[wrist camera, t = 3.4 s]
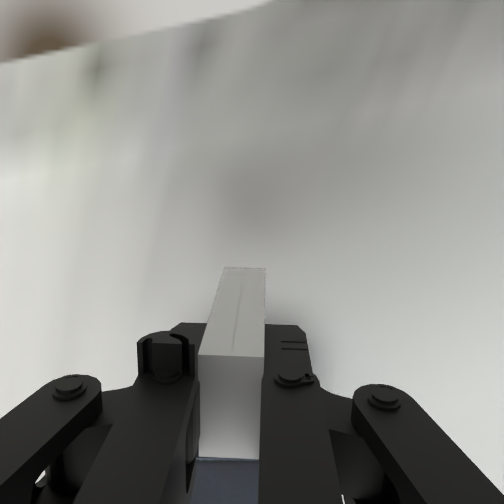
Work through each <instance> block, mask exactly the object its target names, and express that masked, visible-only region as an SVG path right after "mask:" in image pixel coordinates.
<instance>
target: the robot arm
mask: <svg viewBox="0 0 504 504" xmlns="http://www.w3.org/2000/svg"><path fill="white" fill-rule="evenodd" d="M137 357H138V377H137V378H136V380H135V382H134V384H133V386H130V387H127V388H122V389H117V390H111V391H104V392H102V391H101V382H100V381H99V380H98V379H97V378H94V377H92V376H89V375H79V374H74V375H67V376H63V377H61V378H58V379H55V380H53V381H51V382H49V383H47V384H46V385H44V386H43V387H41V388H40V389H39V390H37V391H36V392H35V393H33V394H32V395H31V396H29V397H28V398H27V399H26V400H24V401H23V402H22V403H20V404H19V405H18V406H16V407H15V408H14V409H12V410H11V411H10V412H8V413H7V414H6V415H5V416H3V417H2V418H1V419H0V504H190V501H191V496H192V491H193V486H194V481H195V476H196V452H197V447H198V443H199V457H219V458H243V459H259V477H258V504H343V501H342V496H341V494H342V495H344V501H345V504H504V495H503V494H502V493H501V492H500V491H499V490H498V489H497V488H496V486H495V485H494V484H493V483H492V482H491V481H490V480H489V479H488V478H487V477H486V476H485V475H484V474H483V473H482V472H481V470H480V469H479V468H478V467H477V466H476V465H475V464H474V463H473V462H472V461H471V460H470V459H469V458H468V457H467V456H466V454H465V453H464V452H463V451H462V450H461V449H460V448H459V447H458V446H457V445H456V444H455V443H454V442H453V441H452V440H451V438H450V437H449V436H448V435H447V434H446V433H445V432H444V431H443V430H442V429H441V428H440V427H439V426H438V425H437V424H436V422H435V421H434V420H433V419H432V418H431V417H430V416H429V415H428V414H427V413H426V412H425V411H424V410H423V409H422V408H421V407H420V405H419V404H418V403H417V402H416V401H415V400H414V399H413V398H412V397H411V396H409V395H408V394H407V393H405V392H404V391H402V390H399V389H397V388H395V387H393V386H389V385H384V384H369V385H365V386H361V387H360V388H358V389H357V390H355V392H354V395H353V399H350V398H346V397H342V396H338V395H335V394H332V393H330V392H328V391H326V390H324V389H323V388H321V387H320V383H319V380H318V378H317V376H316V375H315V374H313V373H312V367H311V362H310V356H309V351H308V345H307V339H306V334H305V332H304V331H303V330H302V329H300V328H299V327H298V326H297V325H272V324H265V269H262V268H231V267H224V270H223V273H222V276H221V280H220V283H219V286H218V289H217V293H216V296H215V299H214V303H213V306H212V309H211V313H210V316H209V319H208V322H207V323H180V324H178V325H177V326H175V327H174V328H173V329H171V330H170V331H160V332H155V333H151V334H148V335H146V336H144V337H142V338H141V339H140V340H139V341H138V342H137ZM44 470H45V475H44V477H43V478H42V479H41V480H40V481H39V482H37V483H36V484H35V482H36V480H37V479H38V477H39V476H40V475H41V473H42V472H43V471H44Z"/></svg>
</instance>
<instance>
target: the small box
mask: <svg viewBox="0 0 504 504" xmlns="http://www.w3.org/2000/svg"><path fill="white" fill-rule="evenodd" d="M258 477H259V459H243V458H219V457H199V443H198V447H197V452H196V476H195V481H194V486H193V491H192V496H191V501H190V504H258Z"/></svg>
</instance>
